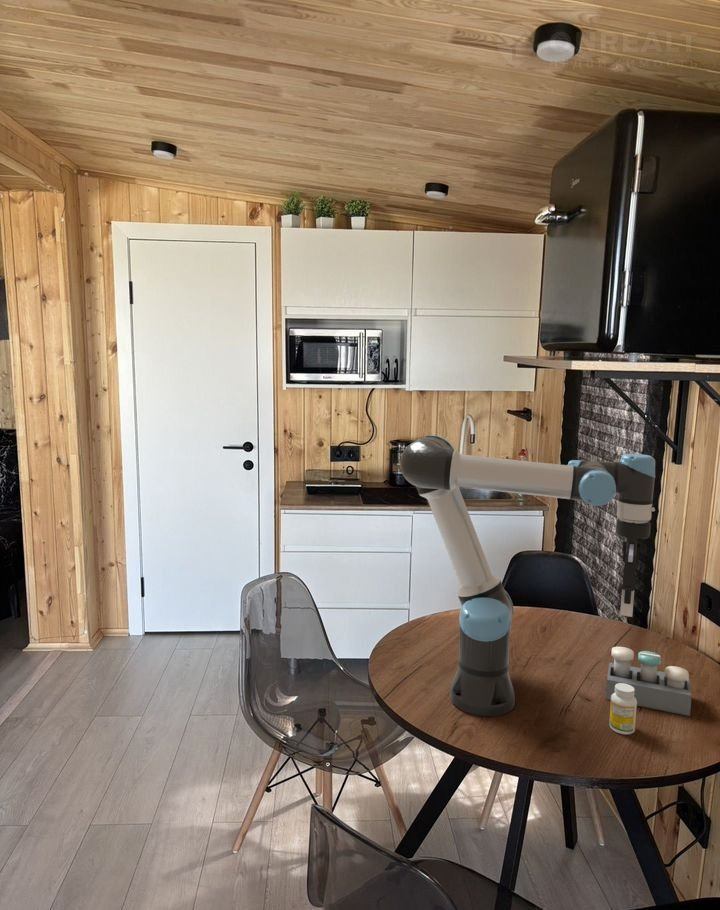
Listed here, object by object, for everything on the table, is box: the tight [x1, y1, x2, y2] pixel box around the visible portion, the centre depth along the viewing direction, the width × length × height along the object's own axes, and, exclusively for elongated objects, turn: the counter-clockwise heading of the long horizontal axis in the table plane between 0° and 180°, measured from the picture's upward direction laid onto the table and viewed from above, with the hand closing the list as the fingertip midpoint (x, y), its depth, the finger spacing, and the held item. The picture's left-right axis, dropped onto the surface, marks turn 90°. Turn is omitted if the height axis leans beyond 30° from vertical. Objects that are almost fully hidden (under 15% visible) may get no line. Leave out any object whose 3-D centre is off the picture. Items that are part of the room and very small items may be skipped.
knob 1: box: [610, 646, 635, 679], centre depth 155 cm, size 5×5×6 cm
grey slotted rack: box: [605, 662, 692, 717], centre depth 153 cm, size 10×18×5 cm, turn 66°
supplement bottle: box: [609, 683, 638, 736], centre depth 139 cm, size 5×5×10 cm
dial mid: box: [637, 650, 662, 684], centre depth 152 cm, size 5×5×7 cm
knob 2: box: [664, 665, 690, 689], centre depth 150 cm, size 5×5×6 cm
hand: (626, 614), depth 153 cm, fingers closed
